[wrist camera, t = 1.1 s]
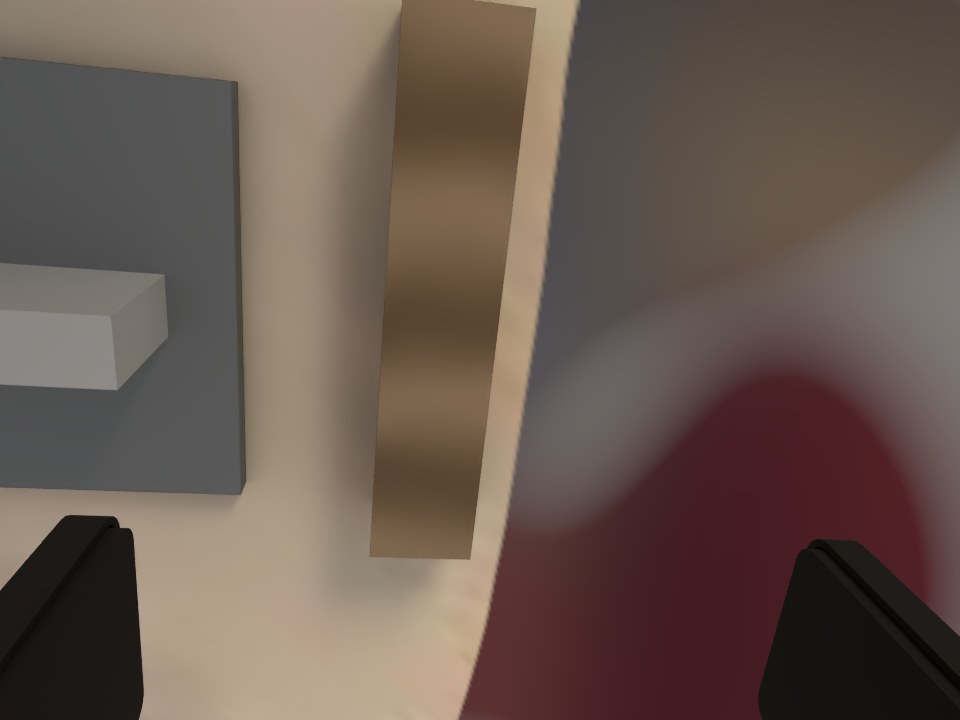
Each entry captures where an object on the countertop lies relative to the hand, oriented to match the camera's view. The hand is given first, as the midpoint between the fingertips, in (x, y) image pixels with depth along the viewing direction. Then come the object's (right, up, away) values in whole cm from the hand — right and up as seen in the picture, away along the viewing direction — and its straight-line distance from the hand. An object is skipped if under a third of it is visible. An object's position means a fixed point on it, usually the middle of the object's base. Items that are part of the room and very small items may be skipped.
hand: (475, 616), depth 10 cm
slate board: (-16, +6, +16) cm, 24 cm away
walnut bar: (-2, +6, +18) cm, 19 cm away
